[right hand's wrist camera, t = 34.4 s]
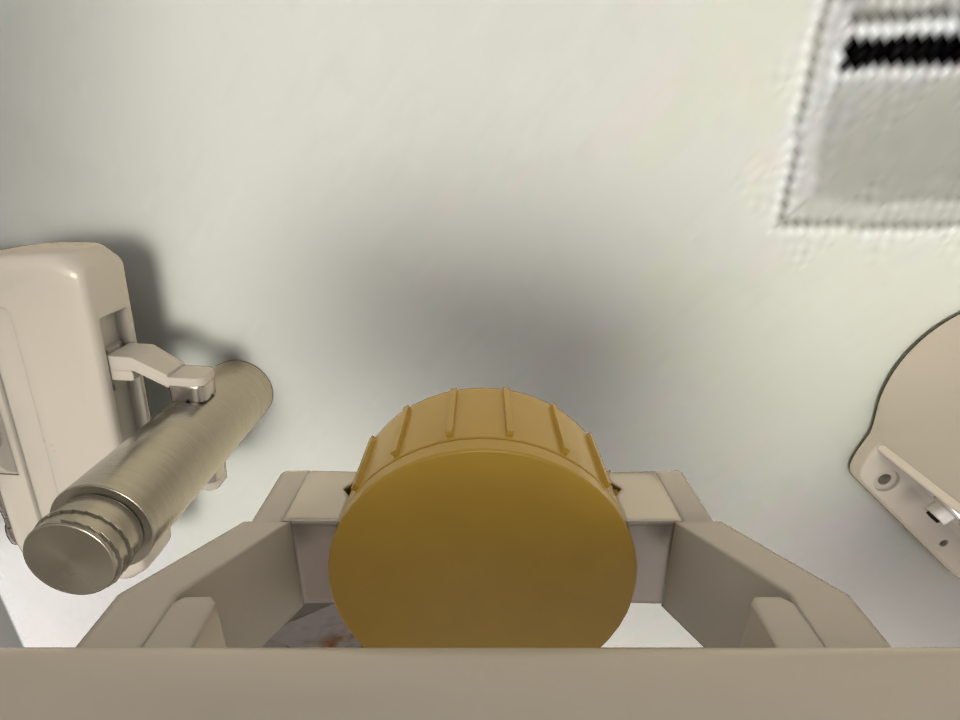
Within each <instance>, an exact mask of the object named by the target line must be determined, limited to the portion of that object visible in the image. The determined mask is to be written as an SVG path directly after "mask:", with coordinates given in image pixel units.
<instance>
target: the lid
mask: <svg viewBox="0 0 960 720" xmlns="http://www.w3.org/2000/svg"><path fill="white" fill-rule="evenodd" d="M607 473H611V472H610V471H606V469H605V467H604V464H603V461H602V459H601V456H600V454H599V451H598V449H597V446H596V443H595V441H594V438H593V436H592V435H591V433H588V434H586V433H585V432H584V431H583V430H582V429H581V427H580V426H579V425H578V424H577V423H576V422H575V421H573V420H572V419H571V418H570V417H568V416H567V415H566V414H565V413H563V412H562V411H560V410H558V407H557V405H555V404H554V403H552V404H551V405H550V404H548V403H546V402H544V401H542V400H539V399H537V398H535V397H532V396H529V395H526V394H522V393H519V392H515V391H509V388H503V389H495V388H470V389H461V390H457V388H454V389H451V391H450V392H445V393H442V394H439V395H436V396H433V397H430V398H427V399H425V400H423V401H421V402H419V403H417V404H414V405H413V406H411V407H409V405H407V406H406V407H404V409H403V412H401V413H400V414H399V415H397V416H396V417H395V418H394V419H393V420H391V421H390V422H389V423H388V424H387V425H386V426H385V427H384V428H383V429H382V430H381V431H380V432H379V434H378V435H377V436H376V437H374V436H372V437H371V438H370V440H369V442H368V445H367V447H366V450H365V453H364V455H363V458H362V460H361V463H360V466H359V468H358V471H357V473H356V476H355V479H354V481H353V484H352V487H351V492H350V494H348V496H349V497H348V500H347V502H346V505H345V508H344V510H343V513H342V515H341V518H340V521H339V523H338V526H337V529H336V531H335V534H334V537H333V541H332V544H331V548H330V552H329V562H328V575H329V585H330V589H331V593H332V598H333V601H334V603H335V606H336V608H337V611H338V613H339V615H340V617H341V618H342V620H343V622H344V623H345V625H346V627H347V628H348V629H349V631H350V632H351V633H352V634H353V636H354V637H355V638H356V639H357V640H358V641H359V642H360V643H361V644H362V645H363V646H364V647H365V648H600V647H601V646H602V645H603V644H604V643H605V642H606V641H607V640H608V639H609V638H610V637H611V636H612V635H613V633H614V632H615V631H616V629H617V628H618V627H619V625H620V624H621V622H622V620H623V618H624V617H625V615H626V613H627V611H628V609H629V606H630V603H631V601H632V598H633V594H634V590H635V585H636V578H637V560H636V553H635V547H634V544H633V541H632V537H631V534H630V531H629V529H628V526H627V523H626V521H625V518H624V516H623V513H622V510H621V508H620V505H619V503H618V500H617V498H616V496H617V494H618V493H619V492H618V490H616V489H614V488H613V487H612V485H611V482H610V479H609V477H608V474H607Z"/></svg>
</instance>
